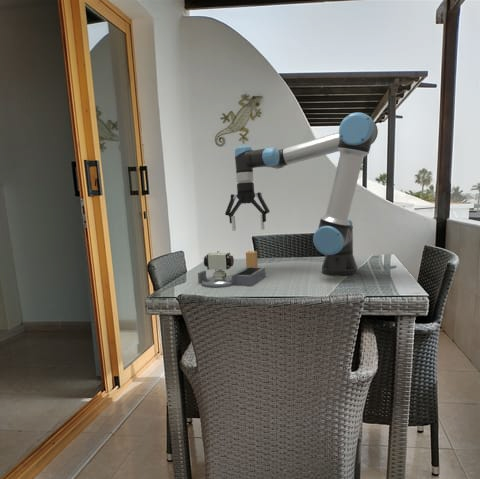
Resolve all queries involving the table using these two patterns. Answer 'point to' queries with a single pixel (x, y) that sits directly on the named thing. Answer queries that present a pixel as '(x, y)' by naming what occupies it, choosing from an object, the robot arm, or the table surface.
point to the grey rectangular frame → (249, 276)
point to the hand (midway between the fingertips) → (248, 230)
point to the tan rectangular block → (251, 259)
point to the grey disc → (215, 283)
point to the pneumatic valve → (218, 263)
